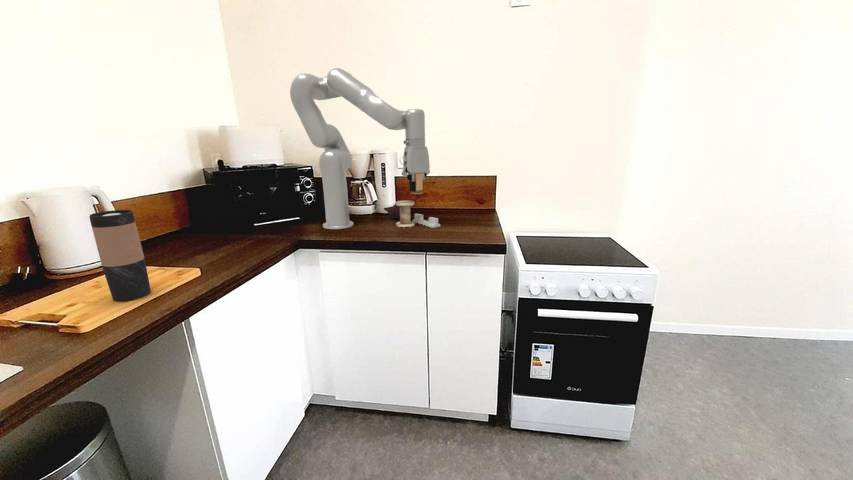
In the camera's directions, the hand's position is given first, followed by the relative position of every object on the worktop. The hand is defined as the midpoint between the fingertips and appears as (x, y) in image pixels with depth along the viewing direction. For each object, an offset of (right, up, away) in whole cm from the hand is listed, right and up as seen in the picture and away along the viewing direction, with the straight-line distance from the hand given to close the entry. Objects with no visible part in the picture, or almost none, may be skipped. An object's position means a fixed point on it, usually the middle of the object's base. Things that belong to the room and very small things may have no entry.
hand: (416, 190), depth 142 cm
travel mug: (-66, -33, -58) cm, 94 cm away
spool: (-5, -14, +8) cm, 17 cm away
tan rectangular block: (0, -1, 0) cm, 1 cm away
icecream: (-10, -10, +22) cm, 26 cm away
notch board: (+4, -13, +10) cm, 17 cm away
